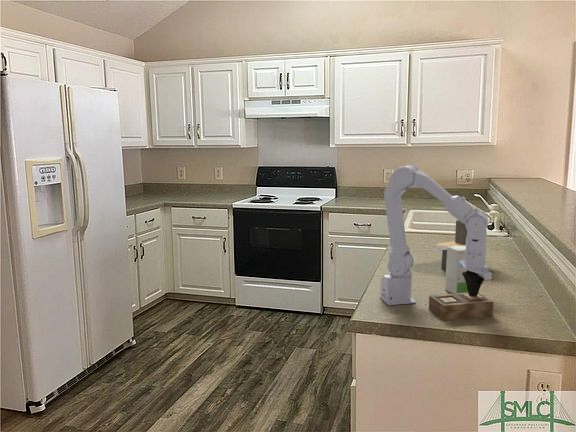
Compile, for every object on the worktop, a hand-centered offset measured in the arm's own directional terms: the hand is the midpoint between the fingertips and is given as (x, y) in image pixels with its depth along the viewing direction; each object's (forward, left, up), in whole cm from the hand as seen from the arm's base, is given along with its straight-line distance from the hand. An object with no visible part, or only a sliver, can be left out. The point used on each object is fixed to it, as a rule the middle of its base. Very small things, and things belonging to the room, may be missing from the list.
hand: (472, 295), depth 146 cm
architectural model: (+22, +44, -6) cm, 50 cm away
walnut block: (-4, 0, -5) cm, 6 cm away
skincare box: (+6, +18, -5) cm, 20 cm away
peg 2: (0, 0, -4) cm, 4 cm away
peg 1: (-8, 0, -5) cm, 9 cm away
